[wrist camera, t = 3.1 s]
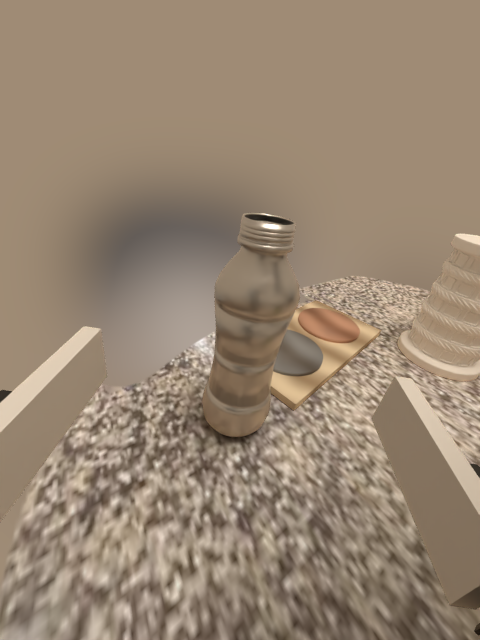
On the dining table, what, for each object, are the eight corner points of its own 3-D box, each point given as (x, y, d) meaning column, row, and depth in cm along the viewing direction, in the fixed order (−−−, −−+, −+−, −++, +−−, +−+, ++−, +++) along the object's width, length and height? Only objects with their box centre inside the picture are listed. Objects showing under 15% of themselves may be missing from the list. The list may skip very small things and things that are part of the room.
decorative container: (397, 328, 51) (447, 228, 42) (470, 352, 47) (543, 247, 38) (396, 360, 42) (459, 242, 33) (486, 393, 38) (586, 269, 29)
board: (314, 304, 55) (316, 297, 54) (379, 335, 48) (382, 327, 47) (216, 352, 38) (217, 342, 37) (293, 410, 31) (297, 400, 30)
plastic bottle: (200, 395, 31) (216, 204, 21) (260, 395, 32) (302, 215, 22) (200, 447, 26) (221, 224, 15) (271, 446, 27) (334, 236, 17)
